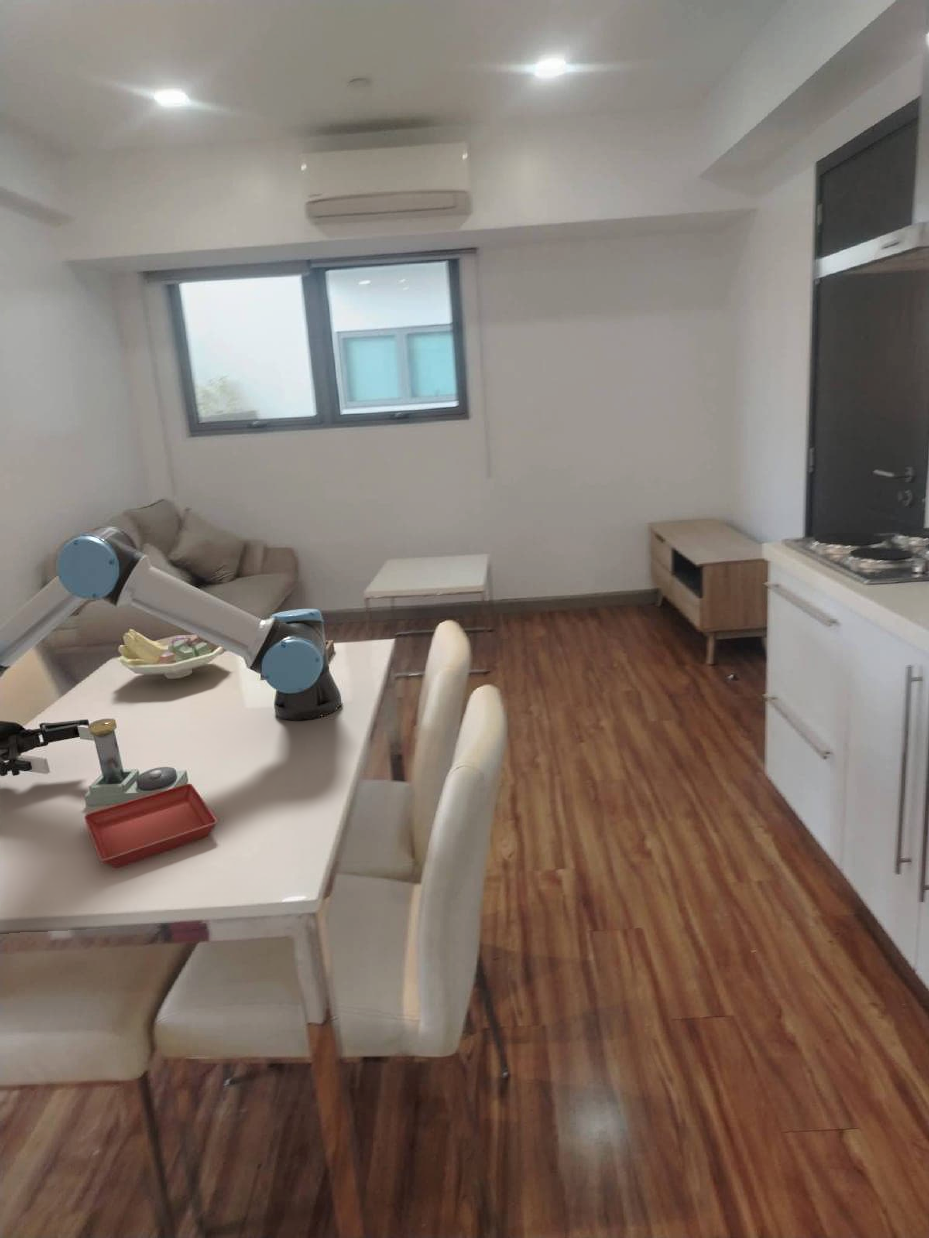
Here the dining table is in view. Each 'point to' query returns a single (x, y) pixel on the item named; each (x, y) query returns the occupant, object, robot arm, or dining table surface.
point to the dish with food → (166, 654)
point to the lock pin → (107, 750)
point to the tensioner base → (134, 785)
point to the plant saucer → (149, 825)
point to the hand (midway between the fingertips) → (77, 749)
